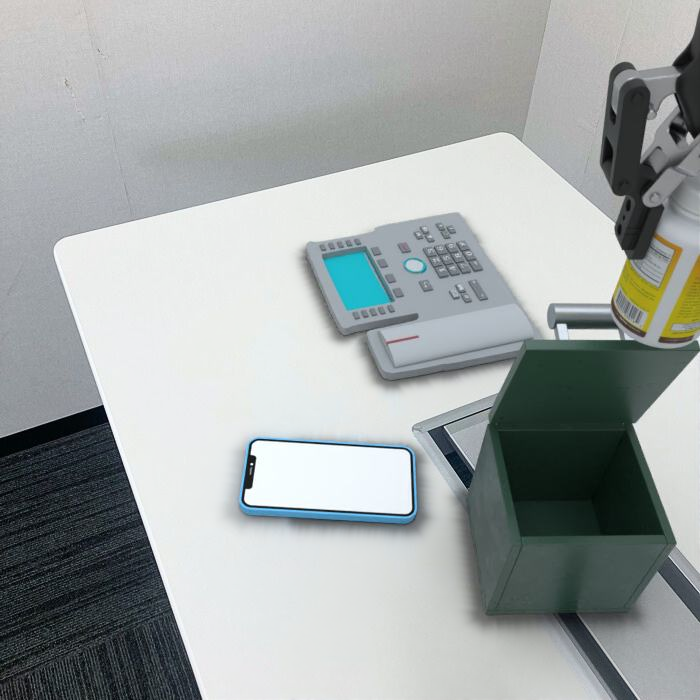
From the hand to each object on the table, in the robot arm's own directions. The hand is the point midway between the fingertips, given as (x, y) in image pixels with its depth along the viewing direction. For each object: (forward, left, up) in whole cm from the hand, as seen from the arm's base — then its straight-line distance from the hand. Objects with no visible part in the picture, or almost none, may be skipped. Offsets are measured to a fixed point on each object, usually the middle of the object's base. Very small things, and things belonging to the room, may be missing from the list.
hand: (685, 250), depth 42 cm
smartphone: (+18, +8, -30) cm, 36 cm away
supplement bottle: (0, 0, -6) cm, 6 cm away
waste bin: (0, +3, -30) cm, 30 cm away
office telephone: (+25, -18, -30) cm, 43 cm away
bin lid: (+2, 0, -13) cm, 14 cm away
